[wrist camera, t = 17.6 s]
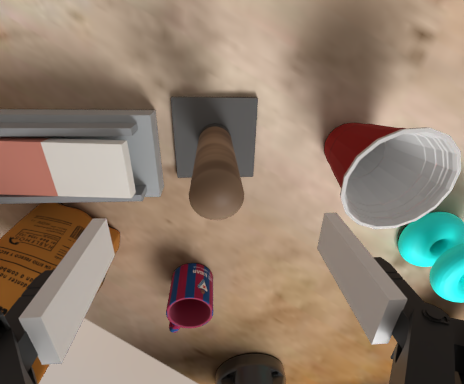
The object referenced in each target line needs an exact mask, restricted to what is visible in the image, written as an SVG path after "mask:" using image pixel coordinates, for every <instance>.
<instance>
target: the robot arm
mask: <svg viewBox="0 0 464 384" xmlns="http://www.w3.org/2000/svg"><path fill="white" fill-rule="evenodd" d="M317 249H318V251H319V252H320V254H321V256H322V258H323V260H324V261H325V263H326V265H327V267H328V268H329V270H330V272H331V274H332V275H333V277H334V279H335V281H336V282H337V284H338V286H339V288H340V290H341V291H342V293H343V295H344V297H345V298H346V300H347V302H348V304H349V305H350V307H351V309H352V311H353V312H354V314H355V316H356V318H357V320H358V321H359V323H360V325H361V327H362V328H363V330H364V332H365V334H366V335H367V337H368V339H369V341H370V342H371V344H385V343H388V342H389V340H390V338H391V336H392V335H393V336H394V338H395V339H396V341H397V342H398V343H397V345H396V347H395V349H394V351H393V354H392V356H391V359H393V364H392V370H391V376H390V381H389V384H464V321H463V320H458V319H454V318H450V317H449V316H448V315H447V314H446V313H445V312H444V311H442V310H441V309H440V308H438V307H436V306H434V305H431V304H428V303H424V302H423V300H422V299H421V298H420V297H419V296H418V295H417V294H416V293H415V291H414V290H413V289H412V288H411V287H410V286H409V285H408V284H407V282H406V281H405V280H403V278H402V277H401V276H400V274H399V273H397V271H396V270H395V269H394V268H393V267H392V265H391V264H390V263H388V262H387V261H385V260H384V259H382V258H381V257H374V258H373V257H372V255H371V254H370V253H369V252H368V250H367V249H366V248H365V247H364V246H363V244H362V243H361V242H360V241H359V240H358V238H357V237H356V236H355V235H354V234H353V232H352V231H351V230H350V229H349V227H348V226H347V225H346V224H345V223H344V221H343V220H342V219H341V218H340V217H339V215H338V214H337V213H324V218H323V222H322V227H321V232H320V237H319V242H318V247H317ZM114 256H115V253H114V249H113V244H112V240H111V236H110V232H109V227H108V223H107V219H106V218H95V219H92V220H91V222H90V223H89V224H88V226H87V227H86V228H85V230H84V231H83V232H82V234H81V235H80V236H79V238H78V239H77V240H76V242H75V243H74V244H73V246H72V247H71V249H70V250H69V251H68V253H67V254H66V255H65V257H64V258H63V259H62V261H61V262H60V263H59V265H58V266H57V267H56V269H55V270H45V271H44V272H43V273H41V274H40V275H39V276H37V277H36V278H35V279H34V280H33V281H32V282H31V284H30V285H29V286H28V287H27V289H26V290H25V291H24V292H23V293H22V295H21V297H19V298H18V300H17V301H16V302H15V303H14V305H13V306H12V307H11V308H10V310H9V311H8V312H7V313H6V315H5V316H4V314H3V313H2V312H1V311H0V384H38V383H37V379H36V376H35V372H34V370H33V368H32V365H33V363H34V361H35V359H36V358H37V356H38V358H39V360H40V362H41V364H42V365H46V364H61V363H62V362H63V360H64V358H65V356H66V354H67V352H68V350H69V348H70V346H71V344H72V341H73V340H74V338H75V336H76V333H77V332H78V329H79V328H80V326H81V323H82V321H83V319H84V317H85V315H86V313H87V311H88V309H89V307H90V305H91V303H92V301H93V299H94V297H95V295H96V293H97V291H98V289H99V287H100V285H101V283H102V281H103V279H104V277H105V275H106V273H107V271H108V269H109V267H110V264H111V262H112V260H113V258H114ZM216 384H286V378H285V373H284V368H283V365H282V364H281V362H280V361H279V360H277V359H276V358H274V357H272V356H269V355H265V354H245V355H240V356H237V357H234V358H232V359H230V360H228V361H226V362H225V363H223V364H222V365H221V366H220V367H219V368H218V370H217V372H216Z"/></svg>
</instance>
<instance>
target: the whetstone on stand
mask: <svg viewBox="0 0 464 384" xmlns="http://www.w3.org/2000/svg"><path fill="white" fill-rule="evenodd" d="M0 137H21V138H58V139H95V140H127V143H128V149H129V155H130V161H131V166H132V172H133V178H134V184H135V190H136V193H135V194H134V196H133V197H132V198H101V197H69V196H36V195H4V194H0V204H15V203H69V202H124V201H143V199H144V197H160V196H161V193H162V190H163V188H164V181H163V172H162V163H161V155H160V146H159V137H158V128H157V119H156V111H155V110H67V109H0Z"/></svg>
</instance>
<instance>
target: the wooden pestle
mask: <svg viewBox="0 0 464 384" xmlns="http://www.w3.org/2000/svg"><path fill="white" fill-rule="evenodd" d="M189 200H190V204H191V206H192V208H193V209H194V210H195V211H196V212H197V213H198V214H199V215H200V216H202V217H204V218H207V219H211V220H222V219H226V218H228V217H230V216H232V215H234V214H235V213H236V212H237V211H238V210H239V209H240V207H241V206H242V203H243V200H244V191H243V186H242V182H241V178H240V174H239V169H238V165H237V161H236V156H235V152H234V148H233V144H232V139H231V135H230V133H229V131H228V130H227V128H226V127H224V126H223V125H220V124H215V123H214V124H209V125H207V126H205V127H204V128H203V129H202V130H201V132H200V134H199V139H198V145H197V151H196V157H195V162H194V168H193V174H192V180H191V186H190V192H189Z"/></svg>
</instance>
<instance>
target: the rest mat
mask: <svg viewBox="0 0 464 384" xmlns="http://www.w3.org/2000/svg"><path fill="white" fill-rule="evenodd" d="M257 104H258V98H255V97H171V106H172V118H173V129H174V141H175V153H176V164H177V176H178V178H186V177H192V174H193V168H194V162H195V157H196V151H197V145H198V139H199V134H200V132H201V130H202V129H203V128H204V127H205V126H207V125H209V124H214V123H215V124H220V125H223V126H224V127H226V128H227V130H228V131H229V133H230V135H231V139H232V144H233V148H234V152H235V156H236V161H237V165H238V169H239V174H240V177H253V170H254V153H255V137H256V120H257Z"/></svg>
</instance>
